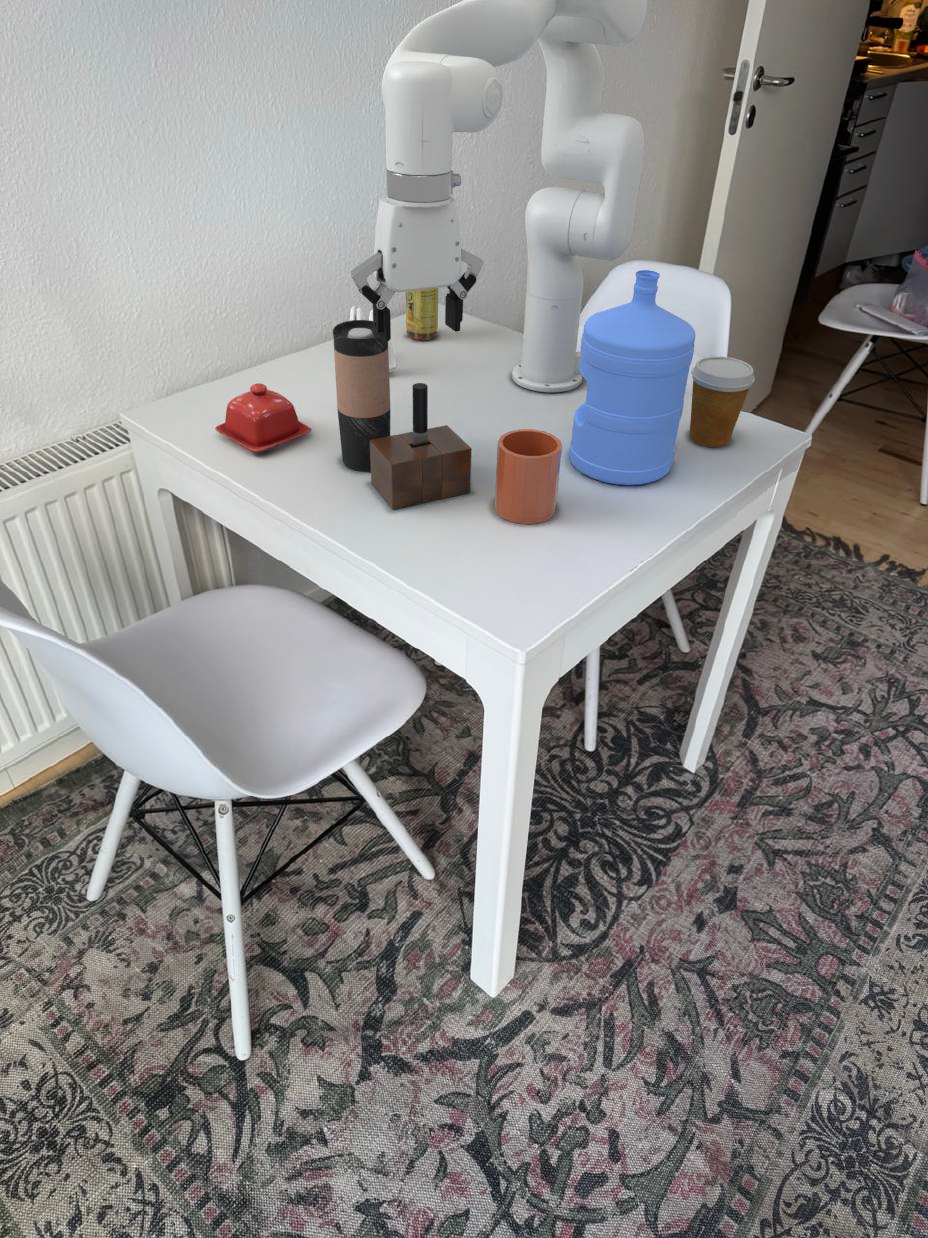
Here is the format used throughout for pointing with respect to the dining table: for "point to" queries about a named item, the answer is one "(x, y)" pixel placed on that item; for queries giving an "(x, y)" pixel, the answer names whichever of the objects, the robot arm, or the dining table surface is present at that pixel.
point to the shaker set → (390, 349)
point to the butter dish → (261, 419)
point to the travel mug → (361, 390)
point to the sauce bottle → (422, 314)
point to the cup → (527, 476)
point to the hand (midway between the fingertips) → (418, 332)
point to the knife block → (420, 467)
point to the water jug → (632, 389)
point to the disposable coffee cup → (718, 398)
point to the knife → (420, 415)
